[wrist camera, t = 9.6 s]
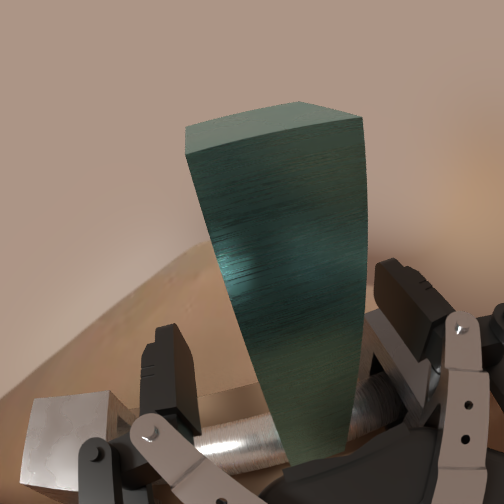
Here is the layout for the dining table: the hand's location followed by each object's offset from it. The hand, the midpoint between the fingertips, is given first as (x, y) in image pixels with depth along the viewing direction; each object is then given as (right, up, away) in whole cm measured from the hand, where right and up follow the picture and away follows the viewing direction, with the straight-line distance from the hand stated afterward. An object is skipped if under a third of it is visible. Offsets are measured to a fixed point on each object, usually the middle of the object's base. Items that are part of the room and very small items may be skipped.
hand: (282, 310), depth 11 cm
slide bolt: (0, -9, +3) cm, 9 cm away
